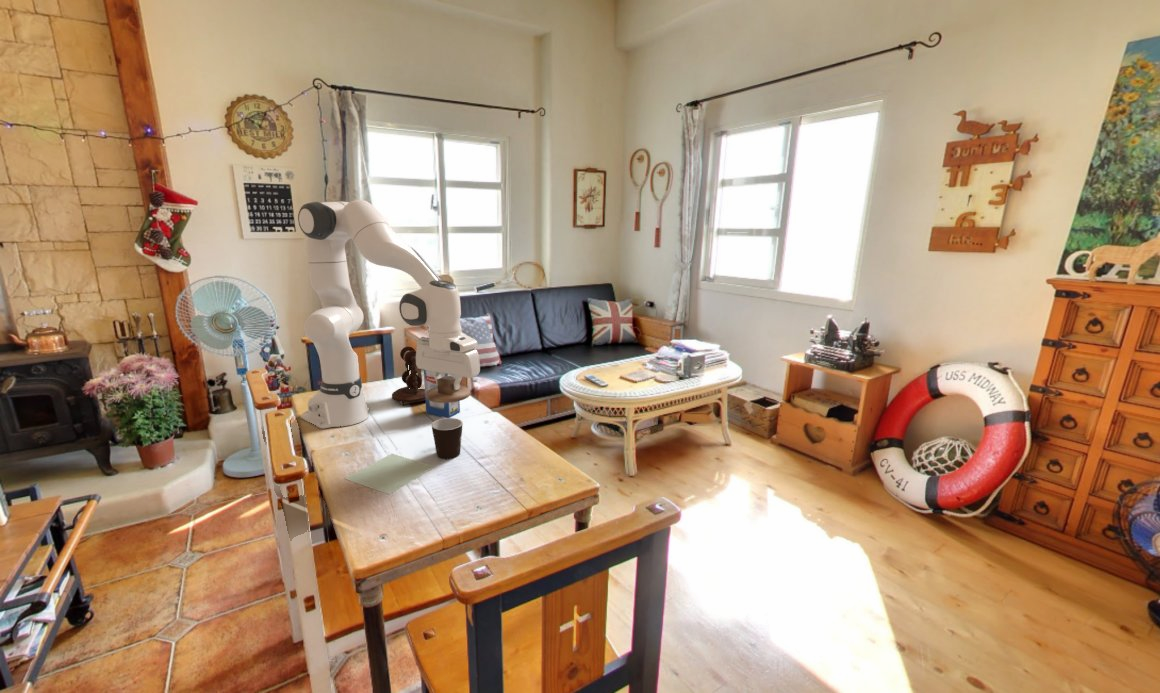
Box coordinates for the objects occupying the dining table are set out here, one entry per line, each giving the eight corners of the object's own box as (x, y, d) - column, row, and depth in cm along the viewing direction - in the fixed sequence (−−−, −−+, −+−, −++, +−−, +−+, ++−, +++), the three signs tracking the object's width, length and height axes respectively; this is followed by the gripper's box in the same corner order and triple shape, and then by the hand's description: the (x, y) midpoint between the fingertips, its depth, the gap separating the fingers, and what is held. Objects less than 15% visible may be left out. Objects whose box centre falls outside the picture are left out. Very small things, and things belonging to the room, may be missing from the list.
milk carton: (425, 413, 170) (422, 359, 166) (437, 407, 176) (434, 354, 171) (449, 418, 167) (446, 362, 162) (460, 412, 172) (457, 358, 167)
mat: (344, 480, 126) (344, 478, 126) (392, 455, 140) (391, 453, 140) (389, 496, 119) (389, 494, 119) (434, 468, 133) (434, 466, 133)
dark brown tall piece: (438, 402, 182) (435, 350, 177) (397, 409, 174) (393, 355, 169) (427, 390, 194) (424, 342, 189) (388, 396, 186) (384, 346, 181)
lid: (417, 398, 134) (415, 381, 133) (445, 385, 145) (445, 369, 144) (451, 405, 130) (450, 387, 128) (478, 392, 140) (478, 375, 139)
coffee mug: (455, 464, 135) (454, 431, 133) (427, 460, 137) (425, 428, 135) (472, 446, 146) (471, 415, 144) (446, 443, 148) (445, 412, 146)
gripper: (408, 338, 135) (412, 385, 138) (467, 347, 126) (469, 397, 130) (424, 333, 140) (427, 379, 144) (482, 342, 132) (484, 390, 135)
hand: (448, 387), depth 137 cm, fingers closed on lid, 4 cm apart
